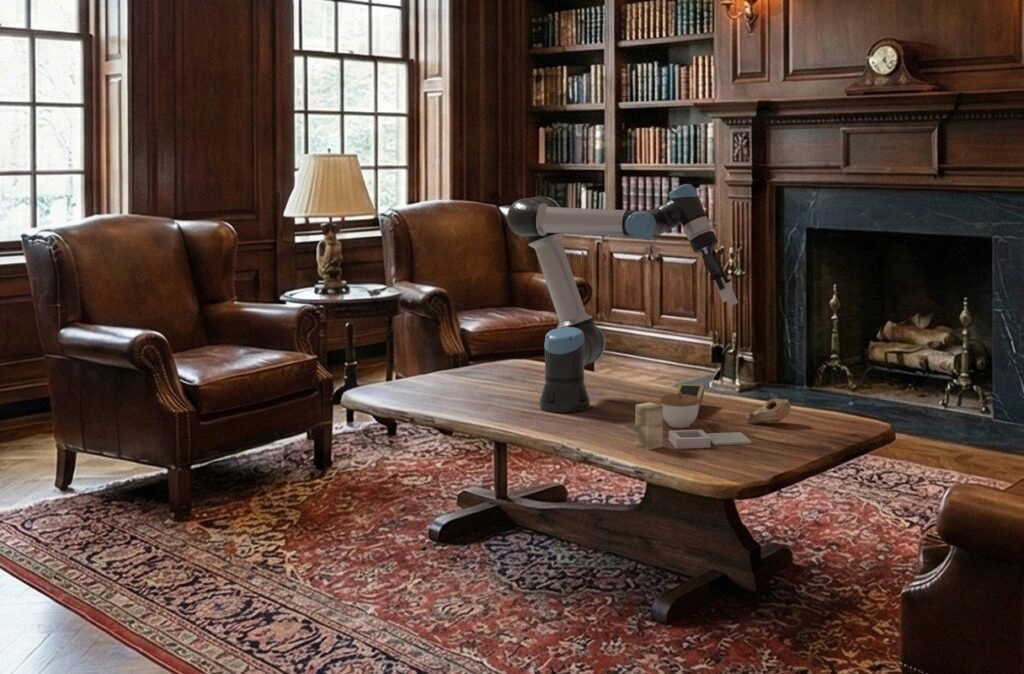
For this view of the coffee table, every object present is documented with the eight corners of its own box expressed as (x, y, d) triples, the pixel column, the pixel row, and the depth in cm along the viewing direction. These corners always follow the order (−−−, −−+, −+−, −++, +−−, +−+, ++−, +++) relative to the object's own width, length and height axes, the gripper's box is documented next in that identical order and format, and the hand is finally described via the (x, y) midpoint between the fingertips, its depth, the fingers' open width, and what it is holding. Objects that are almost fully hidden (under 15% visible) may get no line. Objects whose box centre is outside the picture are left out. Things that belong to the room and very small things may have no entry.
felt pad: (714, 445, 295) (714, 443, 295) (704, 435, 305) (704, 433, 305) (751, 443, 296) (751, 441, 296) (740, 434, 306) (740, 432, 306)
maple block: (635, 445, 296) (635, 404, 294) (649, 442, 299) (649, 402, 297) (648, 449, 292) (648, 408, 290) (662, 446, 295) (662, 405, 293)
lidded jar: (656, 428, 314) (656, 395, 312) (665, 419, 324) (665, 387, 322) (694, 431, 310) (694, 397, 309) (702, 422, 320) (702, 389, 318)
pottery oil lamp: (746, 419, 323) (747, 394, 322) (790, 420, 320) (790, 396, 319) (745, 426, 314) (746, 401, 313) (790, 428, 312) (790, 403, 310)
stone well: (676, 448, 292) (676, 439, 292) (668, 439, 301) (668, 430, 301) (710, 447, 293) (710, 438, 293) (701, 438, 302) (702, 429, 302)
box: (704, 399, 342) (704, 383, 340) (698, 429, 321) (698, 413, 320) (677, 398, 344) (677, 383, 342) (669, 428, 324) (668, 412, 322)
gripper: (706, 223, 313) (737, 292, 309) (719, 236, 336) (747, 300, 333) (681, 234, 315) (712, 304, 311) (695, 246, 338) (724, 311, 335)
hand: (730, 302), depth 322 cm, fingers open, 13 cm apart
